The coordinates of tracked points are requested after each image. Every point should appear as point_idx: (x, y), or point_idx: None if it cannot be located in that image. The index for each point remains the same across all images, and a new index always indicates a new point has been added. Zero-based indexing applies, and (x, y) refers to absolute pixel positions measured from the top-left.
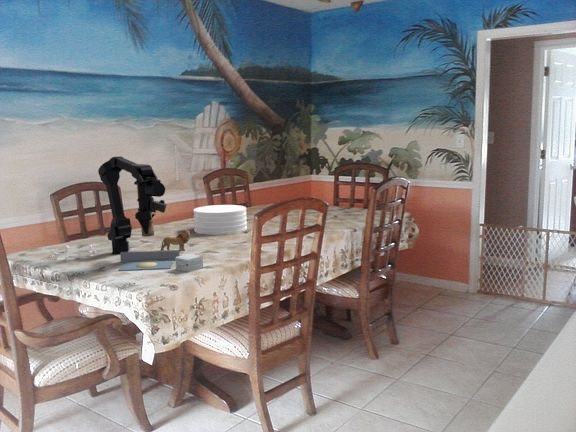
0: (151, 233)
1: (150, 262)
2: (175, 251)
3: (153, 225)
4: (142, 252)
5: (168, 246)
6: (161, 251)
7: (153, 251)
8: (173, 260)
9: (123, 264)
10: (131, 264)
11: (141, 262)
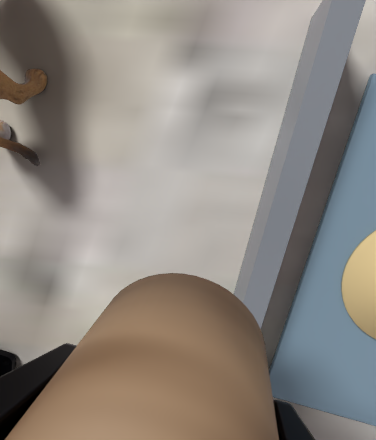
0: (258, 341)
1: (364, 255)
2: (353, 27)
3: (136, 388)
4: (261, 322)
5: (8, 85)
6: (309, 171)
7: (288, 241)
8: (372, 76)
9: (314, 404)
10: (339, 366)
11: (315, 307)
